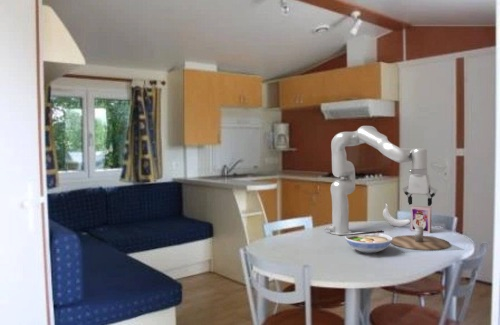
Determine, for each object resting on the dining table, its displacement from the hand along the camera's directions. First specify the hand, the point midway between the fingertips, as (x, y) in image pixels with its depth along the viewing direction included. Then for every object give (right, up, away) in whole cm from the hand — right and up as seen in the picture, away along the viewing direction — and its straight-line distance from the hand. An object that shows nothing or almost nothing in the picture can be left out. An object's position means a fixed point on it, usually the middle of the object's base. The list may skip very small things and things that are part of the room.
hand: (419, 205), depth 224 cm
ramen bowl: (-30, -22, -11) cm, 39 cm away
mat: (0, -21, +1) cm, 21 cm away
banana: (+4, -18, +47) cm, 50 cm away
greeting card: (+14, -19, +31) cm, 38 cm away
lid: (0, -20, +1) cm, 20 cm away
